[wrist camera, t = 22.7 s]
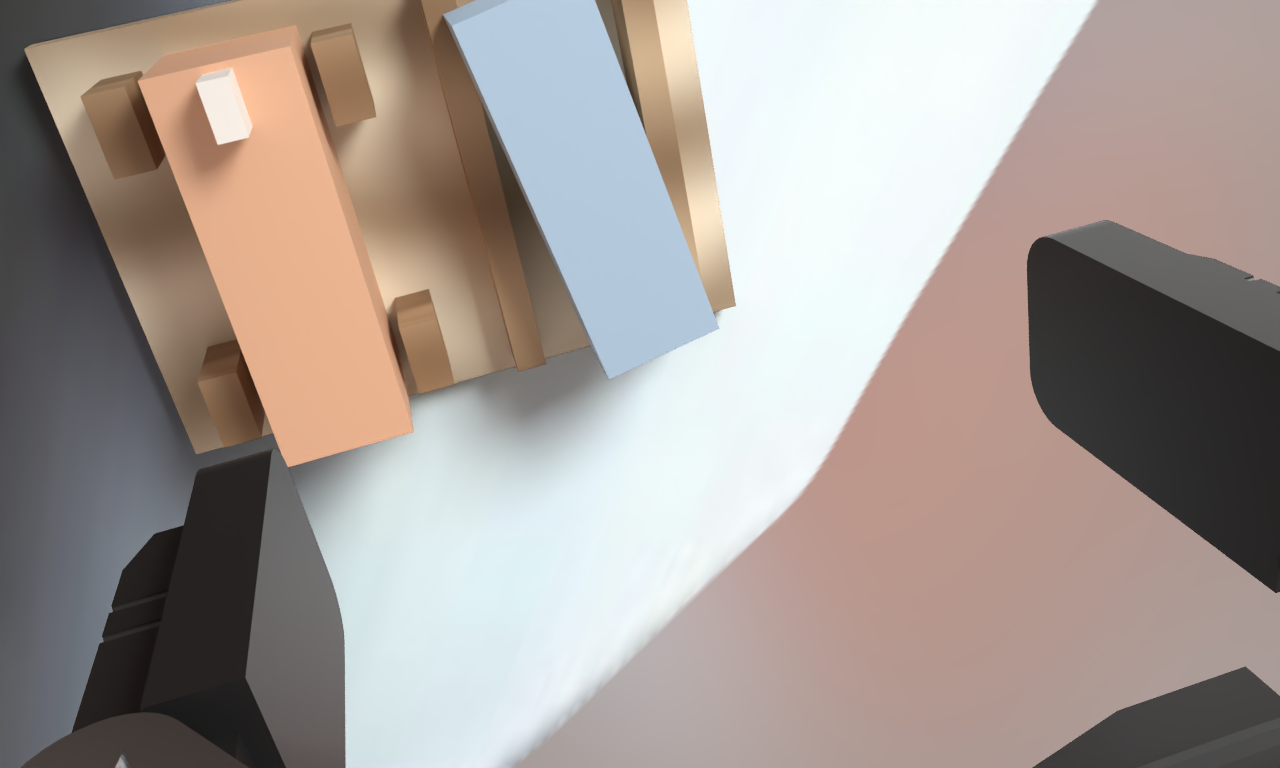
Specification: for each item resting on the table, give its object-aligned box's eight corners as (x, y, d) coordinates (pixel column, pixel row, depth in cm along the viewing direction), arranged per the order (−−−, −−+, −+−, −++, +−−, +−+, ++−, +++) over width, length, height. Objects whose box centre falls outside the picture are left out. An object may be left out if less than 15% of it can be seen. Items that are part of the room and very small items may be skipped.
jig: (32, 44, 33) (-5, 63, 30) (663, -95, 36) (699, -93, 33) (199, 441, 40) (185, 496, 36) (727, 297, 42) (762, 334, 39)
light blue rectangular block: (442, 15, 33) (451, 25, 31) (563, -39, 34) (582, -32, 31) (590, 346, 39) (609, 379, 36) (693, 298, 39) (719, 328, 37)
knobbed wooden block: (164, 55, 34) (128, 90, 28) (296, 25, 34) (287, 53, 28) (292, 401, 39) (284, 491, 33) (405, 370, 39) (416, 453, 34)
